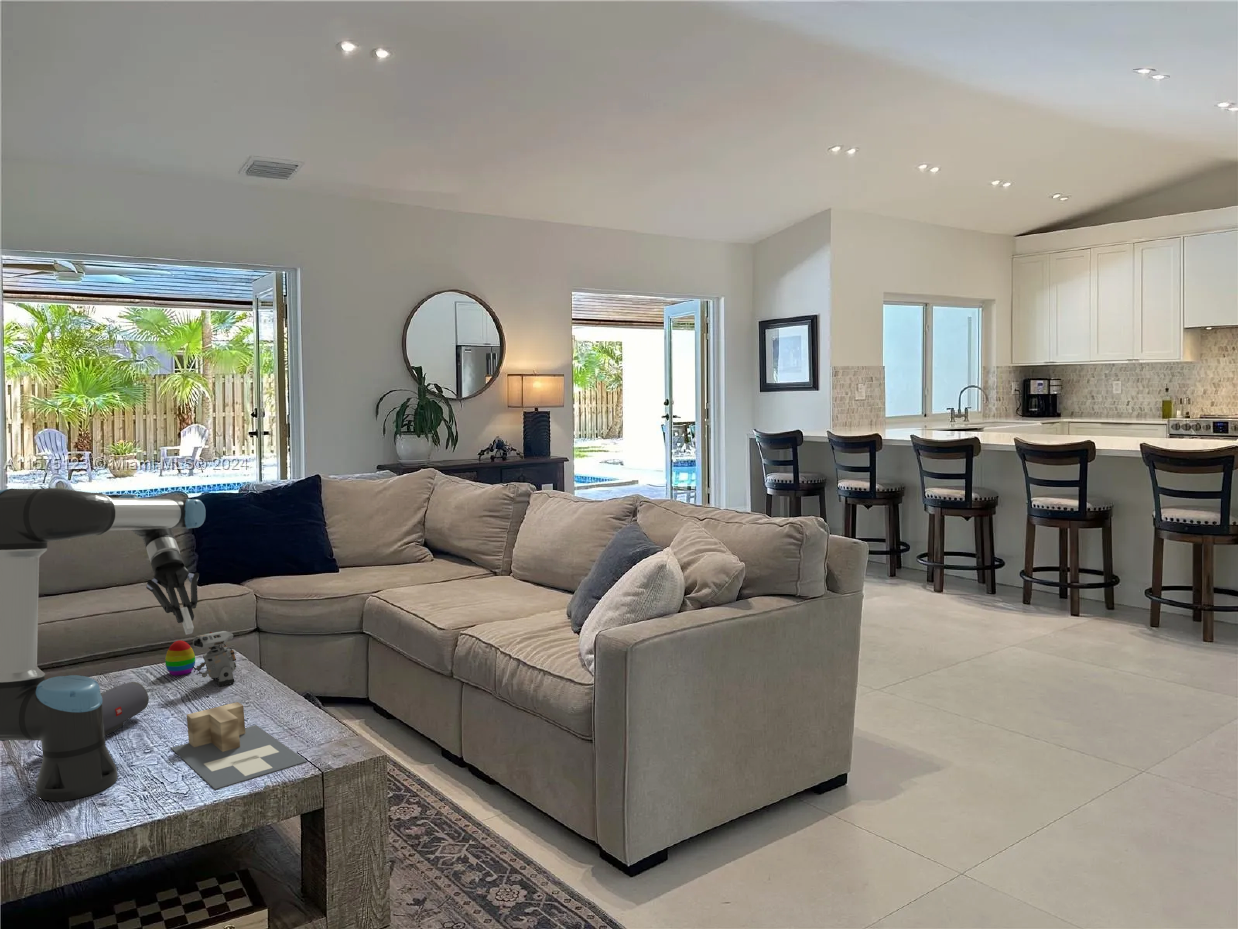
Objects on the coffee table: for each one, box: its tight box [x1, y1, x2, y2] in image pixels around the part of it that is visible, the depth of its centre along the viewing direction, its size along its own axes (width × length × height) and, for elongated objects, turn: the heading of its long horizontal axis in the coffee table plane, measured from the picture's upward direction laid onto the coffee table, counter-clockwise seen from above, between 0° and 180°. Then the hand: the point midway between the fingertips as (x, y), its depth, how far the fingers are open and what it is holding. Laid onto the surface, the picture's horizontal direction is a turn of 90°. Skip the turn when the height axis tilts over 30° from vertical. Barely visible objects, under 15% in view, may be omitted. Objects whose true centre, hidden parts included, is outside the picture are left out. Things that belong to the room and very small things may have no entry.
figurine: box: [192, 630, 237, 687], centre depth 267 cm, size 9×12×15 cm
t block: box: [186, 701, 246, 752], centre depth 221 cm, size 12×12×7 cm
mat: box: [170, 724, 308, 791], centre depth 214 cm, size 20×32×1 cm, turn 41°
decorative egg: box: [164, 639, 196, 677], centre depth 279 cm, size 8×8×10 cm
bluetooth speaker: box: [100, 681, 150, 736], centre depth 231 cm, size 23×9×10 cm, turn 168°
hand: (189, 631), depth 234 cm, fingers closed
